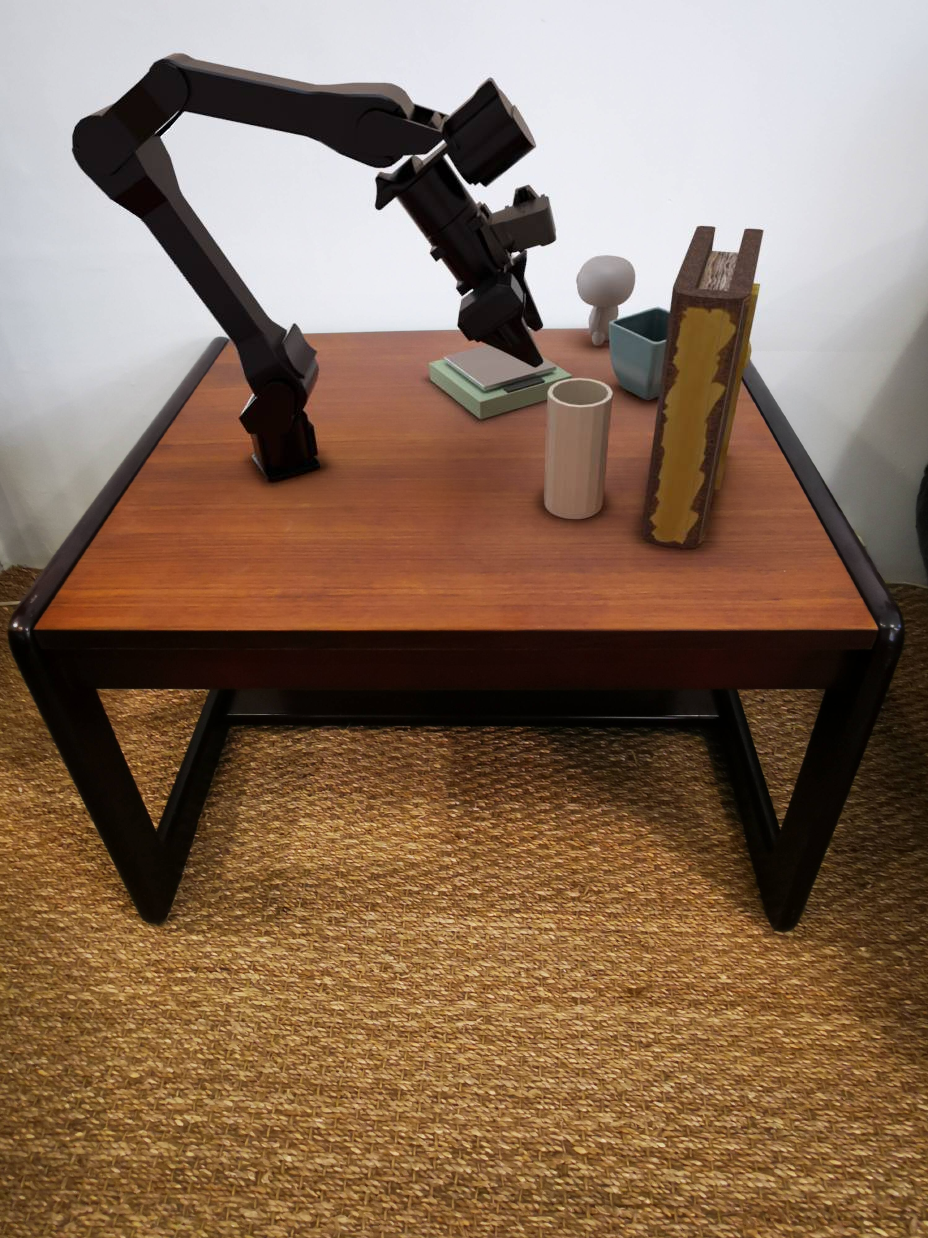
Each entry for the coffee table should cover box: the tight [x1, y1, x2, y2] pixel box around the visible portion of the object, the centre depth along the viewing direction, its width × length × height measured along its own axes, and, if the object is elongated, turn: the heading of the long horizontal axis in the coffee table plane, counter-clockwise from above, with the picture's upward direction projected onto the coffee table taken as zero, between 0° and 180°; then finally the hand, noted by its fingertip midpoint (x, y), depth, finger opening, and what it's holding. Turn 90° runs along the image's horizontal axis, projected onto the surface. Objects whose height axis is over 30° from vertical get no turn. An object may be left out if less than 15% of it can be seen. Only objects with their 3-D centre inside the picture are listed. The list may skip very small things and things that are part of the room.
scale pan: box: [443, 344, 557, 391], centre depth 110 cm, size 11×11×1 cm
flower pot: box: [608, 306, 670, 401], centre depth 107 cm, size 9×9×9 cm
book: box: [640, 225, 764, 550], centre depth 83 cm, size 22×8×25 cm, turn 162°
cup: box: [543, 377, 614, 520], centre depth 86 cm, size 6×6×13 cm
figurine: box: [575, 254, 636, 347], centre depth 118 cm, size 8×8×12 cm
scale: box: [428, 356, 573, 421], centre depth 111 cm, size 14×14×3 cm
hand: (539, 346), depth 87 cm, fingers open, 9 cm apart
